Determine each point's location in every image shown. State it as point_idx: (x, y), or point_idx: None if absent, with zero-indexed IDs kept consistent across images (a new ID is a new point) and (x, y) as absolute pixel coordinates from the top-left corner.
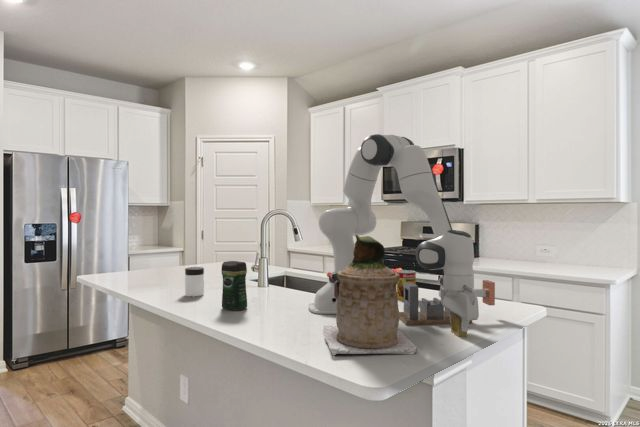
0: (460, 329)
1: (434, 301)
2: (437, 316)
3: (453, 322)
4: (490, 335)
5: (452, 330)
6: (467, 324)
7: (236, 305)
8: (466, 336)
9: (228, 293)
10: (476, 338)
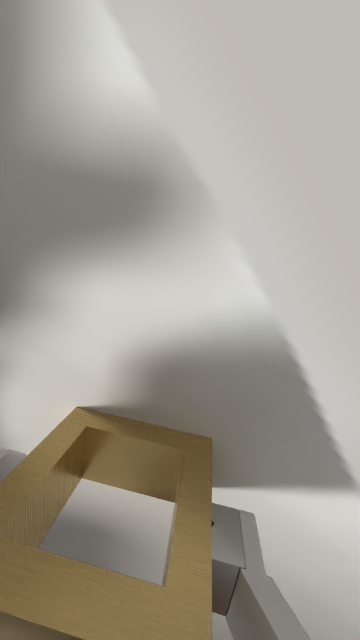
0: None
1: None
2: None
3: (45, 529)
4: (229, 235)
5: (87, 475)
6: (284, 611)
7: None
8: (210, 444)
9: None
10: (259, 395)
